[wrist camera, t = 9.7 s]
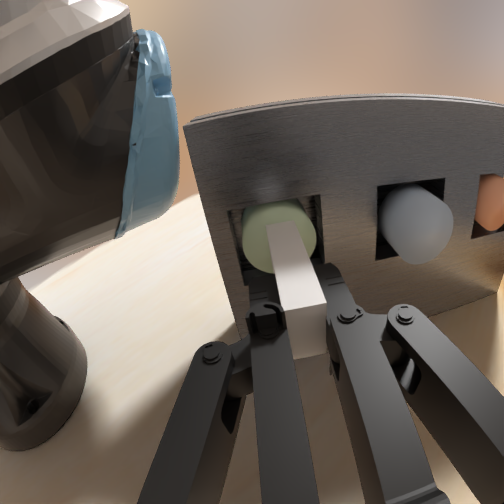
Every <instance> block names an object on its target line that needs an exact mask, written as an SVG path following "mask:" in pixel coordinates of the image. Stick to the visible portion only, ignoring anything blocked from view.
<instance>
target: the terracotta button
mask: <svg viewBox="0 0 504 504" xmlns="http://www.w3.org/2000/svg"><path fill="white" fill-rule="evenodd" d="M474 220H475V221H476V222H477V223H479V224H480V225H481V226H482V227H484V228H485V229H486V230H489V231H494V230H496V229H498V228H499V227H501V226H502V225H503V224H504V178H502V177H500V176H498V175H497V174H495V173H493V174H481V175H480V180H479V189H478V197H477V205H476V211H475V218H474Z"/></svg>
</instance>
